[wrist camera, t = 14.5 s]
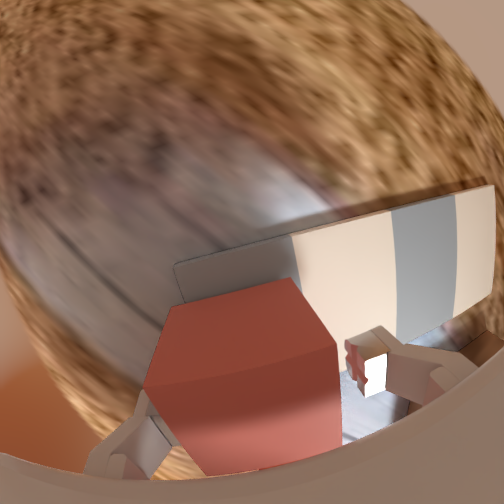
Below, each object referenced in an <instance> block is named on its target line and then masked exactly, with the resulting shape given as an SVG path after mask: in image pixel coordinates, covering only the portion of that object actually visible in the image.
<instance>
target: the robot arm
mask: <svg viewBox="0 0 504 504" xmlns="http://www.w3.org/2000/svg"><path fill="white" fill-rule="evenodd" d="M344 347H345V350H346V351H347V353H348V354H347V356H346V357H345V361H346V367H347V370H348V373H349V375H350V376H351V378H352V380H355V381H357V387H358V388H359V390H360V391H361V393H362V394H363V396H364V397H365V398H366V397H368V396H370V395H373V394H375V393H378V392H380V391H382V390H384V389H385V390H386V391H389V392H391V393H393V394H396V395H398V396H401V397H403V398H406V399H408V400H411V401H413V402H416V403H418V404H421V405H422V408H420V409H418V410H417V411H415V412H413V413H411V414H410V415H408V416H406V417H404V418H402V419H400V420H398V421H397V422H395V423H393V424H391V425H389V426H387V427H385V428H383V429H380V430H378V431H376V432H374V433H372V434H370V435H367V436H365V437H363V438H361V439H358V440H356V441H353V442H351V443H348V444H346V445H343V446H341V447H338V448H335V449H333V450H330V451H327V452H324V453H321V454H318V455H315V456H312V457H309V458H305V459H302V460H299V461H295V462H291V463H288V464H284V465H280V466H276V467H272V468H267V469H262V470H258V471H253V472H247V473H241V474H235V475H228V476H221V477H212V478H202V479H189V480H150V478H151V477H152V475H153V474H154V472H155V471H156V470H157V468H158V467H159V466H160V464H161V463H162V461H163V460H164V459H165V457H166V456H167V454H168V453H169V452H170V450H171V449H172V446H181V444H180V443H179V441H178V440H177V439H176V437H175V436H174V434H173V433H172V432H171V430H170V429H169V427H168V426H167V425H166V423H165V422H164V420H163V419H162V417H161V416H160V414H159V413H158V411H157V410H156V408H155V407H154V405H153V404H152V402H151V401H150V399H149V397H148V396H147V394H146V393H145V391H144V389H142V390H141V391H140V394H139V398H138V401H137V404H136V407H135V411H134V414H133V417H130V418H128V419H127V420H126V421H125V422H124V423H123V424H121V425H120V426H119V427H118V428H117V429H116V430H115V431H114V432H112V433H111V434H110V435H109V436H108V437H107V438H105V439H104V440H103V441H102V442H101V443H100V444H99V445H97V446H96V447H95V448H94V449H93V450H91V452H90V454H89V457H88V460H87V463H86V466H85V469H84V472H83V474H78V473H73V472H68V471H63V470H58V469H54V468H50V467H46V466H42V465H39V464H35V463H32V462H29V461H25V460H22V459H19V458H17V457H13V456H11V455H8V454H5V453H0V504H504V346H503V347H502V348H501V349H500V350H499V351H498V352H497V353H496V354H495V355H493V356H492V357H491V358H490V359H489V360H488V361H486V362H485V363H484V364H483V365H482V366H480V367H479V368H478V367H477V366H476V365H475V364H473V363H472V362H471V361H470V360H468V359H467V358H466V357H465V356H463V355H462V354H461V353H459V352H453V351H447V350H440V349H435V348H429V347H423V346H418V345H412V344H404V345H403V344H402V343H401V342H400V341H399V340H398V339H396V338H395V337H394V336H393V335H392V334H391V333H390V332H389V331H388V330H386V329H385V328H384V327H383V326H381V325H379V326H377V327H374V328H372V329H370V330H368V331H366V332H364V333H361V334H359V335H356V336H353V337H351V338H348V339H346V340H345V342H344Z"/></svg>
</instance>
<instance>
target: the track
mask: <svg viewBox="0 0 504 504" xmlns="http://www.w3.org/2000/svg"><path fill="white" fill-rule="evenodd" d="M495 247H496V206H495V190H494V185H484V186H479V187H475V188H471V189H467V190H463V191H458V192H454V193H450V194H446V195H442V196H438V197H434V198H430V199H425V200H421V201H417V202H413V203H409V204H405V205H401V206H397V207H393V208H389V209H385V210H381V211H377V212H373V213H369V214H365V215H361V216H357V217H353V218H349V219H345V220H341V221H337V222H333V223H329V224H325V225H321V226H318V227H314V228H310V229H306V230H302V231H298V232H294V233H290V234H286V235H283V236H279V237H275V238H271V239H267V240H263V241H259V242H256V243H252V244H248V245H244V246H240V247H237V248H233V249H229V250H225V251H221V252H218V253H214V254H210V255H206V256H203V257H199V258H195V259H191V260H188V261H184V262H180V263H176V264H175V265H174V267H173V270H174V273H175V276H176V279H177V282H178V285H179V288H180V291H181V294H182V296H183V299H184V302H185V304H186V303H190V302H194V301H199V300H203V299H207V298H211V297H215V296H219V295H223V294H227V293H231V292H235V291H239V290H243V289H247V288H251V287H254V286H258V285H262V284H266V283H270V282H273V281H277V280H281V279H284V278H288V277H291V279H292V280H293V281H294V283H295V284H296V286H297V287H298V288H299V290H300V291H301V293H302V294H303V296H304V297H305V298H306V300H307V301H308V303H309V304H310V305H311V307H312V308H313V310H314V311H315V313H316V314H317V315H318V317H319V318H320V320H321V321H322V323H323V324H324V326H325V327H326V328H327V330H328V331H329V333H330V334H331V336H332V337H333V338H334V340H335V341H336V343H337V349H338V361H339V373H340V372H342V371H345V370H347V367H346V361H345V357H346V356H347V354H348V353H347V351H346V350H345V347H344V342H345V340H346V339H348V338H351V337H353V336H356V335H359V334H361V333H364V332H366V331H368V330H370V329H372V328H374V327H377V326H379V325H381V326H383V327H384V328H385V329H386V330H388V331H389V332H390V333H391V334H392V335H393V336H394V337H395V338H396V339H398V340H399V341H400V342H401V343H402V344H403V345H404V344H406V343H408V342H410V341H412V340H414V339H416V338H418V337H420V336H422V335H424V334H426V333H428V332H429V331H431V330H433V329H435V328H437V327H438V326H440V325H442V324H444V323H445V322H447V321H449V320H450V319H452V318H454V317H455V316H457V315H459V314H460V313H462V312H464V311H465V310H467V309H468V308H470V307H471V306H473V305H474V304H476V303H477V302H479V301H480V300H482V299H483V298H485V297H486V296H488V295H489V294H490V293H491V292H492V284H493V275H494V264H495Z"/></svg>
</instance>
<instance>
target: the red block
mask: <svg viewBox="0 0 504 504" xmlns="http://www.w3.org/2000/svg"><path fill="white" fill-rule="evenodd" d="M142 388H143V389H144V391H145V393H146V394H147V396H148V397H149V399H150V401H151V402H152V404H153V405H154V407H155V408H156V410H157V411H158V413H159V414H160V416H161V417H162V419H163V420H164V422H165V423H166V425H167V426H168V427H169V429H170V430H171V432H172V433H173V434H174V436H175V437H176V439H177V440H178V441H179V443H180V444H181V445H182V446H183V448H184V449H185V450H186V452H187V453H188V454H189V455H190V457H191V458H192V459H193V460H194V462H195V463H196V464H197V465H198V466H199V468H200V469H201V470H202V471H203V472H204V473H205V475H206V476H215V475H224V474H232V473H239V472H245V471H251V470H257V469H262V468H267V467H272V466H277V465H281V464H285V463H289V462H293V461H297V460H301V459H304V458H308V457H311V456H314V455H318V454H321V453H324V452H327V451H330V450H333V449H335V448H338V447H341V446H342V412H341V391H340V375H339V361H338V349H337V343H336V341H335V340H334V338H333V337H332V336H331V334H330V333H329V331H328V330H327V328H326V327H325V326H324V324H323V323H322V321H321V320H320V318H319V317H318V315H317V314H316V313H315V311H314V310H313V308H312V307H311V305H310V304H309V303H308V301H307V300H306V298H305V297H304V296H303V294H302V293H301V291H300V290H299V288H298V287H297V286H296V284H295V283H294V281H293V280H292V279H291V277H288V278H284V279H281V280H277V281H273V282H270V283H266V284H262V285H258V286H254V287H251V288H247V289H243V290H239V291H235V292H231V293H227V294H223V295H219V296H215V297H211V298H207V299H203V300H199V301H194V302H190V303H186V304H182V305H177V306H173V307H171V309H170V312H169V314H168V317H167V320H166V322H165V325H164V328H163V330H162V333H161V336H160V338H159V341H158V344H157V347H156V350H155V352H154V355H153V358H152V361H151V364H150V367H149V370H148V372H147V375H146V378H145V381H144V384H143V387H142Z"/></svg>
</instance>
